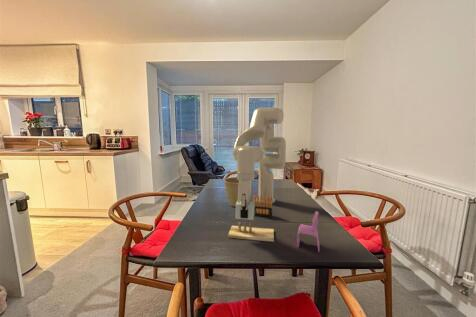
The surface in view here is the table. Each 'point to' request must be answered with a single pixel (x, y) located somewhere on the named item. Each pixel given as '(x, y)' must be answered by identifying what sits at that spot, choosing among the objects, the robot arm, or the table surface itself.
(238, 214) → the pale green notched block
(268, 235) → the board
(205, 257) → the table surface
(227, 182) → the plant pot
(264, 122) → the robot arm
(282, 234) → the table surface
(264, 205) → the ammunition clip
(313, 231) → the toy chair
